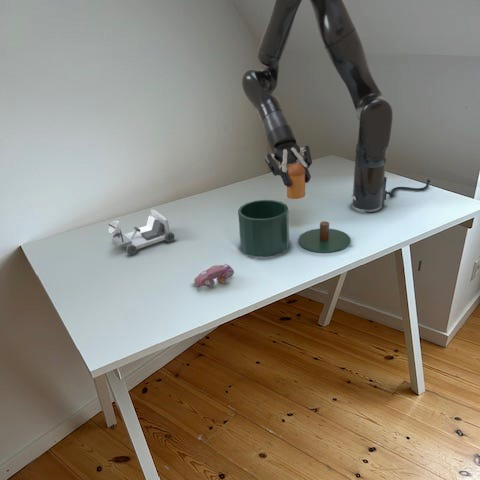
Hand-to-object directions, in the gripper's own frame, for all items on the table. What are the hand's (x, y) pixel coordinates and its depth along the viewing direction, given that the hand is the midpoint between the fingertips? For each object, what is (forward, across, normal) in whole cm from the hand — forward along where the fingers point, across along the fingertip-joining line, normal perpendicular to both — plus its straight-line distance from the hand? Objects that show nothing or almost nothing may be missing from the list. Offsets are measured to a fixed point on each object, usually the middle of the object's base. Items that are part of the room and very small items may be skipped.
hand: (298, 183), depth 140 cm
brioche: (+2, 0, +4) cm, 5 cm away
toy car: (-2, -46, +22) cm, 51 cm away
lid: (+18, +1, +1) cm, 18 cm away
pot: (+14, -14, +6) cm, 21 cm away
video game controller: (+22, -34, -2) cm, 41 cm away
